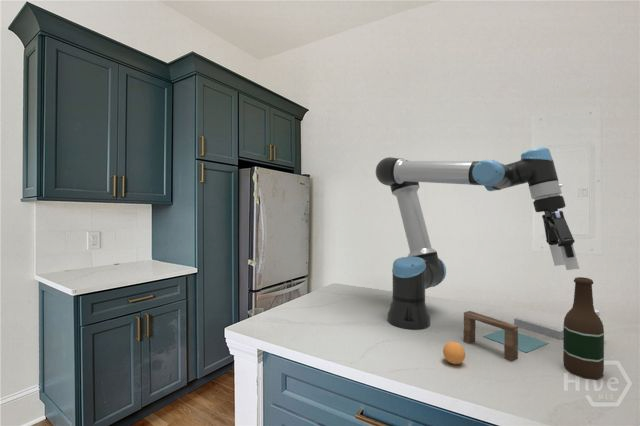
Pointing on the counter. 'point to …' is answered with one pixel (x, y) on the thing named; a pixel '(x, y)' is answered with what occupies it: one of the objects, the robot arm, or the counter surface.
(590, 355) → the beer bottle
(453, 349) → the ball
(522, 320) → the wall
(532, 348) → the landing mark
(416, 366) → the counter surface
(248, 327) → the counter surface
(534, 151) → the robot arm
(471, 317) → the bridge
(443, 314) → the counter surface
